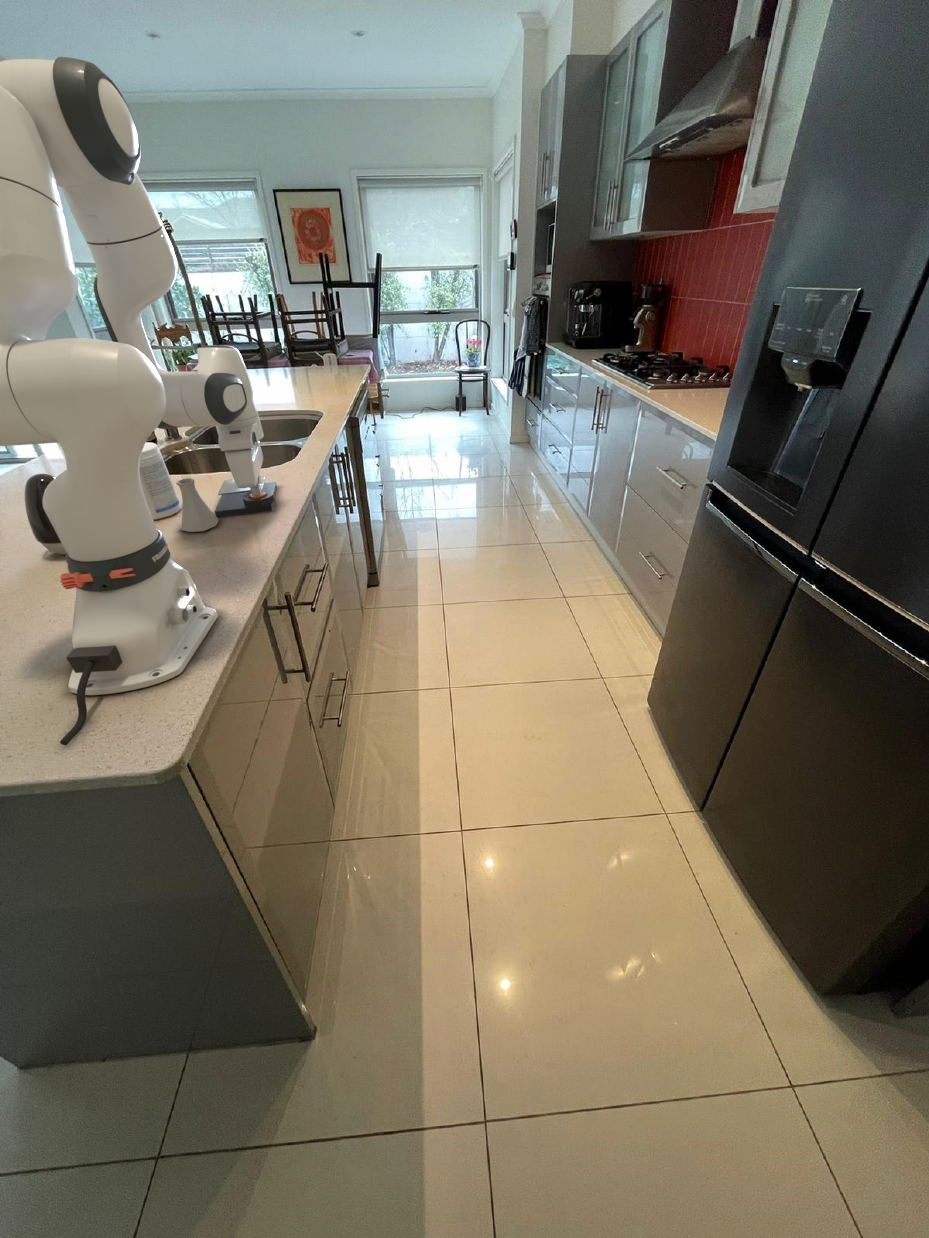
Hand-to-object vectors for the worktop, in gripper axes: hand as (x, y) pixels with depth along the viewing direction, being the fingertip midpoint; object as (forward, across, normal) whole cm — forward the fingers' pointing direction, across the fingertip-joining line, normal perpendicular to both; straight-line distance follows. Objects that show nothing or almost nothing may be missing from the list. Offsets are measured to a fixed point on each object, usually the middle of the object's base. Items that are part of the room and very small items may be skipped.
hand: (257, 493), depth 116 cm
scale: (+3, -5, -3) cm, 7 cm away
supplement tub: (+4, -4, -23) cm, 24 cm away
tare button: (+2, 0, 0) cm, 2 cm away
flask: (+4, +7, -12) cm, 14 cm away
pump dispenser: (+3, +11, -35) cm, 37 cm away
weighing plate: (0, -8, -4) cm, 9 cm away
